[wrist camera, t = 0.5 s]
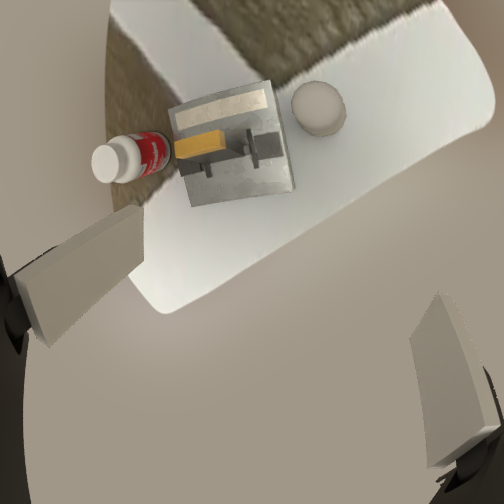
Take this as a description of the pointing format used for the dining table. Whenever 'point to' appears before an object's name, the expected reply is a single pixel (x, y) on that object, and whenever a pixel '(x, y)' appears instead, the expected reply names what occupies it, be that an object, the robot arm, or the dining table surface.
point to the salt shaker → (318, 108)
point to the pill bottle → (130, 157)
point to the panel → (244, 130)
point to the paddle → (210, 148)
